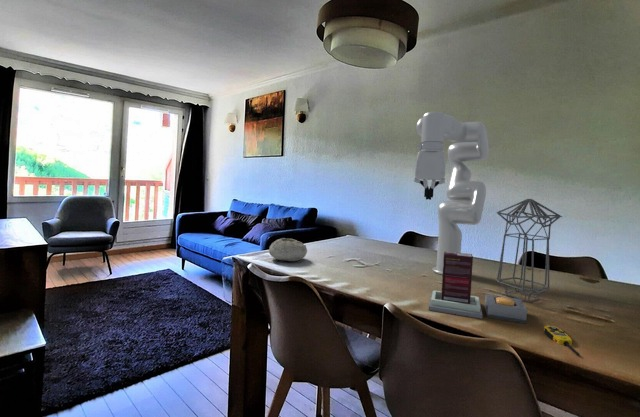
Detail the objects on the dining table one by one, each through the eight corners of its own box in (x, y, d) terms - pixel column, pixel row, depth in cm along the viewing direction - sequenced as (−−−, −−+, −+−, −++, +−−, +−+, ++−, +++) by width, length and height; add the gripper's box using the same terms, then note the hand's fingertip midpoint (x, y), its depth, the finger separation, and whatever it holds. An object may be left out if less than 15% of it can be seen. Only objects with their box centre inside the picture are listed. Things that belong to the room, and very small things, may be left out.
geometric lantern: (529, 307, 111) (539, 200, 109) (486, 292, 125) (494, 197, 122) (557, 301, 119) (567, 200, 116) (513, 287, 132) (521, 197, 130)
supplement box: (469, 302, 111) (472, 253, 109) (469, 307, 106) (473, 256, 105) (440, 298, 114) (443, 250, 112) (440, 302, 109) (443, 253, 108)
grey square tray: (431, 296, 119) (431, 288, 118) (479, 303, 113) (479, 295, 113) (428, 310, 106) (429, 301, 105) (482, 318, 100) (482, 309, 100)
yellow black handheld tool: (559, 325, 94) (591, 351, 79) (559, 332, 94) (590, 359, 79) (540, 323, 95) (567, 349, 80) (539, 330, 95) (567, 357, 80)
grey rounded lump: (308, 257, 171) (309, 237, 170) (303, 266, 154) (304, 243, 153) (273, 255, 173) (274, 235, 172) (264, 263, 155) (265, 241, 154)
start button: (494, 305, 108) (495, 296, 107) (512, 308, 106) (513, 298, 105) (496, 311, 103) (496, 301, 103) (515, 314, 101) (515, 304, 101)
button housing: (484, 306, 111) (485, 294, 111) (519, 311, 107) (520, 299, 107) (487, 317, 102) (488, 304, 101) (525, 323, 98) (527, 310, 98)
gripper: (409, 146, 121) (405, 198, 123) (454, 146, 116) (450, 201, 117) (411, 148, 128) (408, 197, 130) (454, 149, 123) (450, 200, 124)
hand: (428, 199), depth 124 cm, fingers closed
